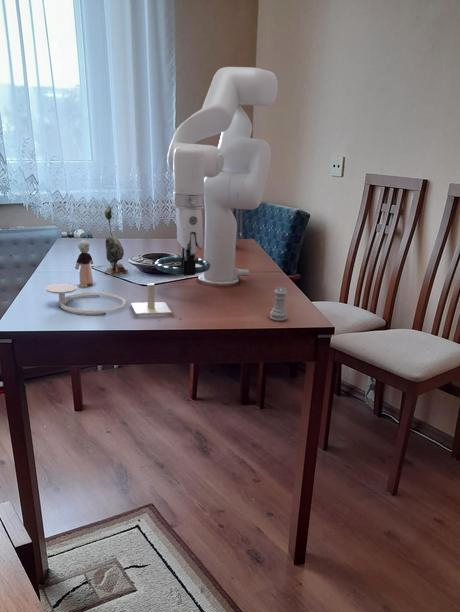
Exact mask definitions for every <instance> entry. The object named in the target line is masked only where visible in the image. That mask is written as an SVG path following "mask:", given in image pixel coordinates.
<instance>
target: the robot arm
mask: <svg viewBox="0 0 460 612" xmlns="http://www.w3.org/2000/svg"><path fill="white" fill-rule="evenodd" d="M278 91H279V83H278V78H277V76H276V75H275V73H274V72H273V71H271V70H266V69H263V68H259V67H251V66H250V67H248V66H225V67H221V68H219V69H218V70H217V71H216V72H215V74H213V78H212V80H211V83H210V86H209V88H208V90H207V94H206V96H205V99H204V102H203V105H202V107H201V109H199V110H198V111H196V112H194V113H193V114H192V115H190V116H189V117H188V118H187V119H185V120H184V121H183V122H181V124H179V126H178V127H177V128H176V130H175V132H174V134H173V137H172V139H171V141H170V144H169V147H168V152H167V166H168V168H169V170H170V171H171V172H172V173H173V207H174V208H176V209H177V212H176V239H177V243H178V244H179V245H180V256H181V257H184V258H181V262H180V268H183V274H182V275H183V276H196V274H195V268H196V267H197V266H196V265H197V264H196V258H197V249H199V250H202V249H203V259H204V260H206V261H208V262H209V263H210V268H209V270H207V271H205V272H203V273H201V274H200V275H199V276H198V281H200V282H202V283H205V284H210V285H224V286H225V285H234V284H237V283H239V281H240V279H239V278H240V277H249V276H250V270H249V269H243V268H237V267H236V266H235V264H236V248H237V242H236V236H237V233H236V232H237V223H236V216H235V215H234V213H233V211H232V210H231V209H236V210H237V209H238V210H240V209H242V210H251V211H253V210H256V209H257V208H259V207H260V205H261V204H262V201H263V197H264V193H265V188H266V183H267V180H268V175H269V171H270V166H271V159H272V151H271V146H270V144H269V143H268V142H267V141H266V140H264V139H261V138H251V136H252V131H253V124H252V121H251V119H250V117H249V116H248V114H247V112H245V110H244V109H243V107H242V106H258V107H259V106H261V107H270V106H271V105H273V104H274V102H275V101H276V99H277V96H278V93H279V92H278ZM219 134H220V139H219V142H218V146H215V145H210V144H200V143H198V142H200V141H202V140H204V139H207V138H210V137H214V136H217V135H219ZM222 171H224V172H222ZM202 209H204V228H203V214H202ZM203 229H204V231H203ZM203 233H204V234H203Z"/></svg>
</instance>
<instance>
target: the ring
mask: <svg viewBox="0 0 460 612" xmlns="http://www.w3.org/2000/svg"><path fill="white" fill-rule="evenodd" d="M181 258H184V257H181V255H180V256H179V255H177V256H167V257H162V258H159V259H157V260H156V261H155V262H154V267H155V268H156V269H157V271H160V272H163V273H167V274H173V275H184V274H183V268H181V267H174V266H167V265H165V264H172V263H181ZM196 265H200V266H196V268H195V275H197V274H203V273H204V272H205V271H207V270H209V268H210V263H209V262H208V261H206V260H204V258H200V257H196Z"/></svg>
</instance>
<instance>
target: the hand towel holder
mask: <svg viewBox="0 0 460 612" xmlns="http://www.w3.org/2000/svg"><path fill="white" fill-rule="evenodd" d="M44 289H45V291H46V292H47V293H51V294H55V295H57V294H58V301H57V303H58V305H59V306H60V308H61V309H62V310H64V311H65V312H67V313H68V312H69V313H70V314H76V315H86V316H103V315H107V313H106V312H112V311H117V310H119V309H122V308H123V307H125V306H126V305H127V301H126V299H125V298H124V297H122V296H120V295H117V294H114V293H108V292H99V291H98V292H97V291H89V292H88V291H87V292H79V293H77V292H76V291H77V289H78V286H77V285H75V284H72V283H62V282H60V283H58V282H57V283H51V284H48V285H45V286H44ZM74 292H76V293H74ZM71 293H73V294H71ZM66 294H69V295H67V296H66ZM101 296H107V297H112V298H116V299H119V300H120V301H121V302H122V303H121V304H120V305H118V306H115V307H113V308H106V309H89V310H88V309H78V308H72V307H69V306H67V305H66V304H67V302H68V301H70V300H74V299H78V298H79V299H80V298H89V297H90V298H91V297H93V298H95V297H101Z"/></svg>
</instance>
